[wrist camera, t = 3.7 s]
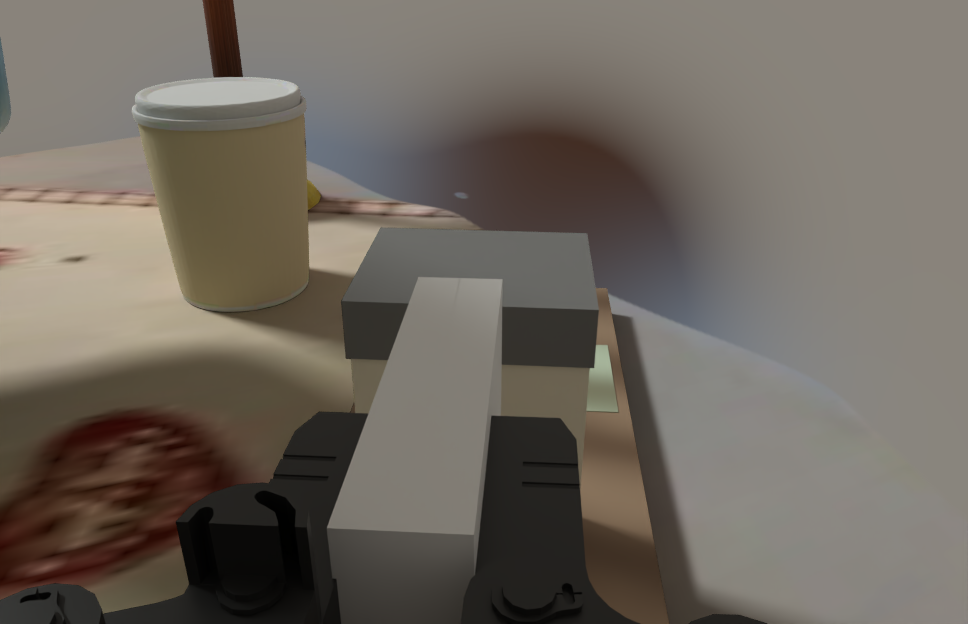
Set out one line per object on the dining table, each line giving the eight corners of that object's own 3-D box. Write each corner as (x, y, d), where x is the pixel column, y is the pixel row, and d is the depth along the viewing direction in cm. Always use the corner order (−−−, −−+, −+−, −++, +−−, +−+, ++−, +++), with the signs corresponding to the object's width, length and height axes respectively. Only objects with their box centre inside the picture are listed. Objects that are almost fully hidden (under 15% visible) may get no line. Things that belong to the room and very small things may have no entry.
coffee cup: (350, 270, 51) (336, 82, 46) (260, 331, 43) (231, 113, 38) (235, 249, 54) (210, 71, 49) (133, 301, 46) (89, 97, 41)
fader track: (697, 857, 19) (706, 818, 18) (211, 822, 19) (202, 782, 19) (604, 311, 46) (606, 287, 45) (402, 304, 46) (401, 280, 46)
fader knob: (574, 614, 23) (598, 309, 18) (365, 603, 23) (341, 300, 19) (568, 498, 27) (587, 233, 23) (395, 490, 28) (380, 227, 23)
